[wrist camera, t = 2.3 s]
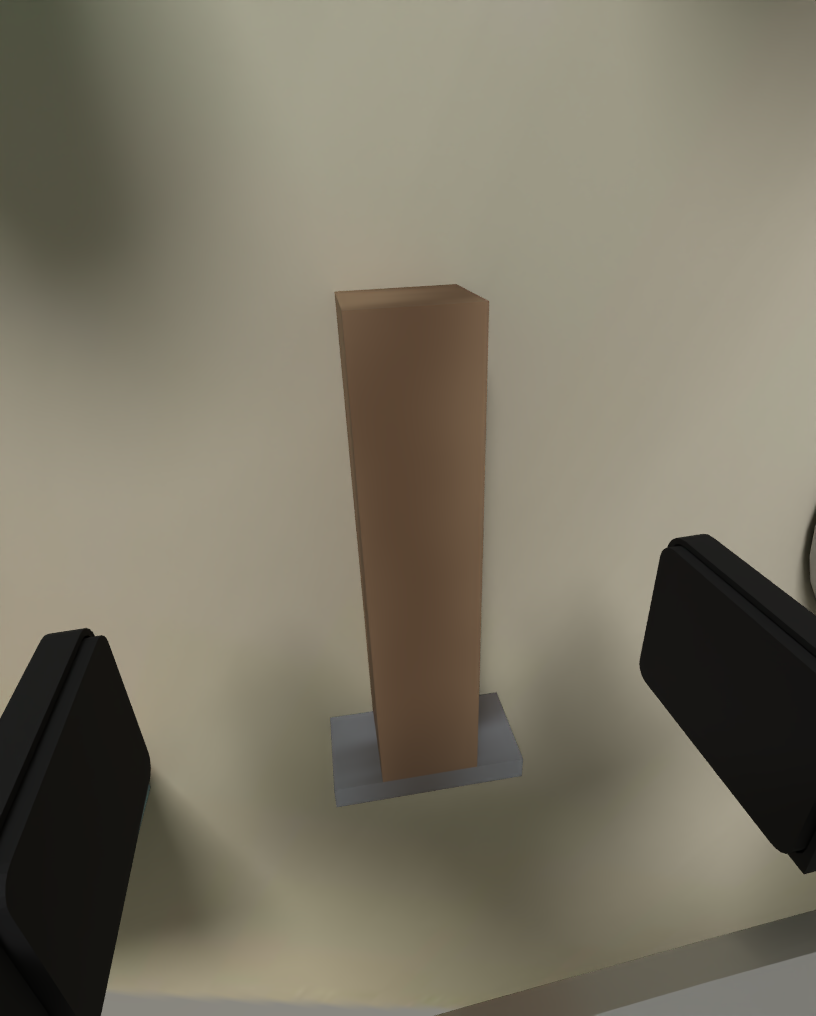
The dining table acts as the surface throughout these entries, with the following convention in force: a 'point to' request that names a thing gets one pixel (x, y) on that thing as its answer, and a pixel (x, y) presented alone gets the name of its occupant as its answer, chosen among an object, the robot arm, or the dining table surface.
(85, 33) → the dining table surface
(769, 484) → the dining table surface
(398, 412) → the tall wooden post
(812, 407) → the dining table surface
